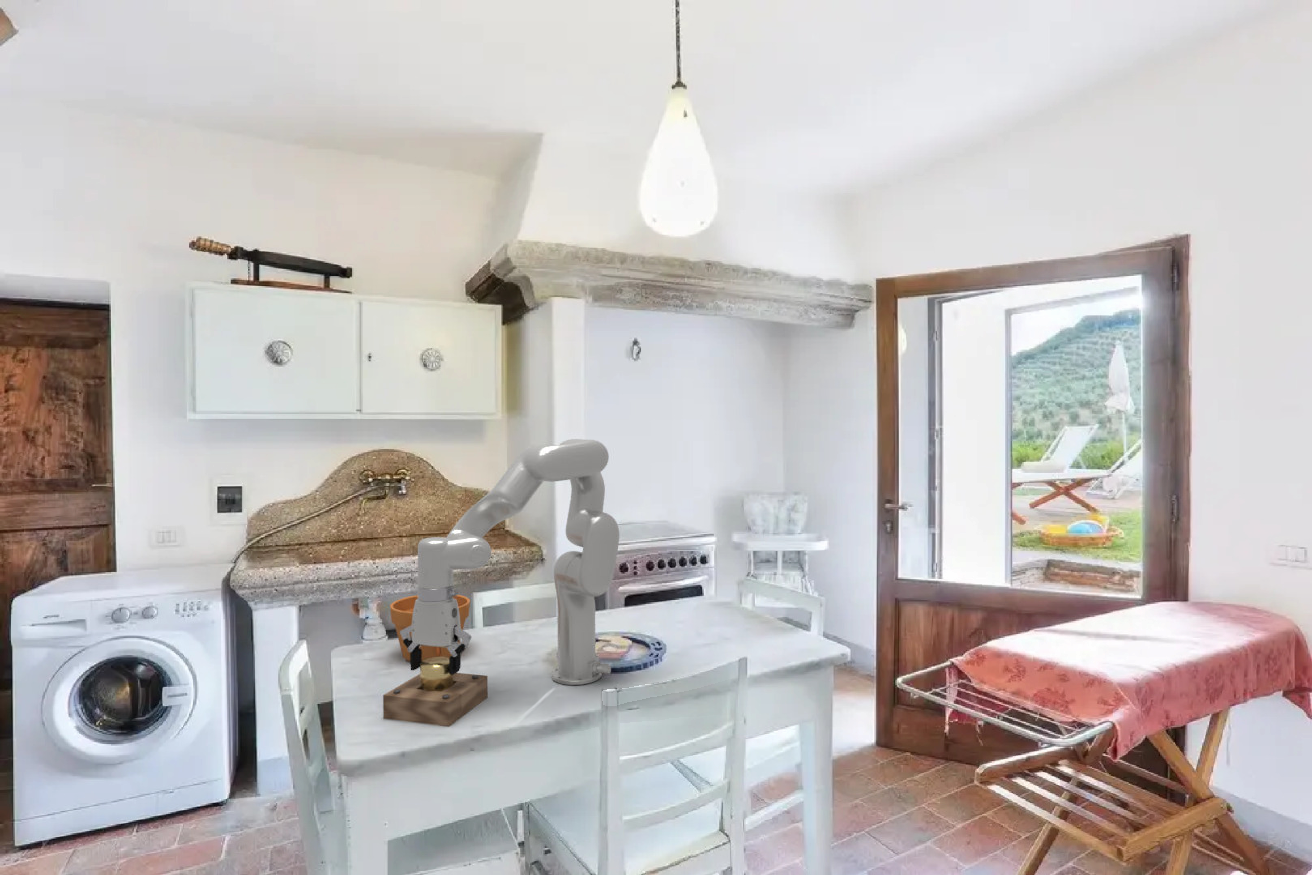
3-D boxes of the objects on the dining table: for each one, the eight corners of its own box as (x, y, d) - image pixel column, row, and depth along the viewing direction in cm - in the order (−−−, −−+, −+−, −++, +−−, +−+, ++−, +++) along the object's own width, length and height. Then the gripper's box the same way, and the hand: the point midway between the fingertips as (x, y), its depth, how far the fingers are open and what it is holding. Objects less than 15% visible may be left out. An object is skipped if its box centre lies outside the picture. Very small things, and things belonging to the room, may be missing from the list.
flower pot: (474, 640, 206) (473, 591, 205) (466, 664, 185) (465, 609, 185) (399, 645, 202) (398, 594, 202) (382, 669, 181) (382, 613, 181)
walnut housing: (487, 701, 160) (487, 673, 160) (449, 731, 144) (448, 700, 144) (427, 694, 164) (426, 667, 164) (383, 722, 149) (383, 692, 149)
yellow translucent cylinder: (459, 702, 157) (459, 658, 157) (442, 715, 150) (441, 668, 150) (432, 699, 159) (432, 655, 158) (414, 711, 152) (413, 665, 152)
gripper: (479, 592, 155) (478, 668, 155) (411, 587, 160) (411, 661, 160) (461, 600, 148) (460, 680, 148) (391, 594, 153) (390, 672, 153)
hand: (435, 670), depth 154 cm, fingers open, 9 cm apart
